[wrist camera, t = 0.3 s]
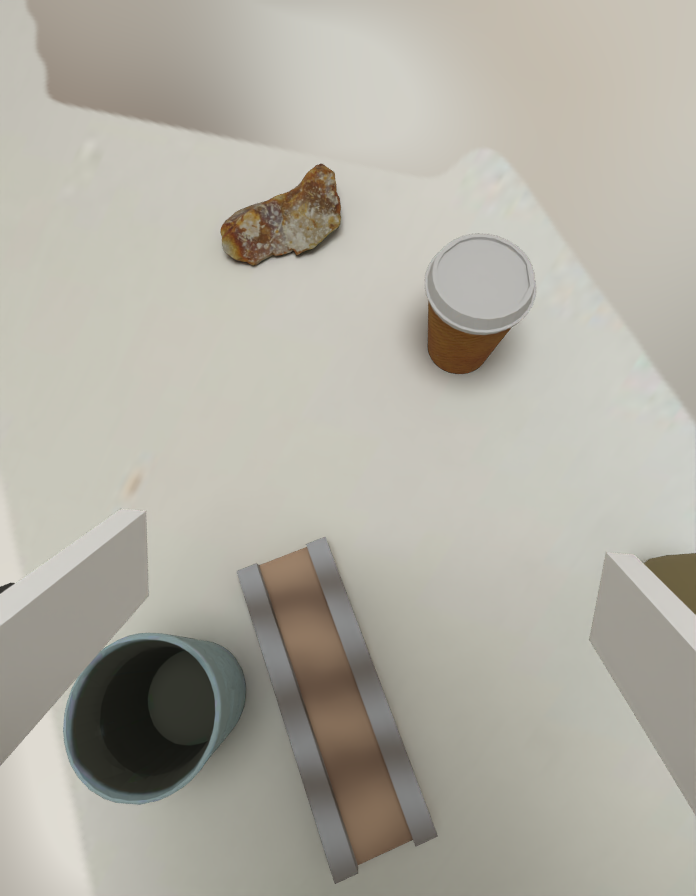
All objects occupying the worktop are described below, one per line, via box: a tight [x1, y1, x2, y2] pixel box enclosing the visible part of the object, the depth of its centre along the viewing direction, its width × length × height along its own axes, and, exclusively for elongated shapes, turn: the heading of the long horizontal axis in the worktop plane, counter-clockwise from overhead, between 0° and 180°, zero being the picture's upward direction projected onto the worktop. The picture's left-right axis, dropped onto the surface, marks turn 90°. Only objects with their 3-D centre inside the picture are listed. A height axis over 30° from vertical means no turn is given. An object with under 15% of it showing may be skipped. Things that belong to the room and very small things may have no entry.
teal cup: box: [63, 633, 246, 805], centre depth 40 cm, size 10×10×12 cm
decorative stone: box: [221, 164, 341, 265], centre depth 60 cm, size 10×4×15 cm
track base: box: [237, 537, 438, 884], centre depth 45 cm, size 24×8×2 cm, turn 21°
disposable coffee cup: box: [425, 233, 536, 374], centre depth 51 cm, size 10×10×12 cm
